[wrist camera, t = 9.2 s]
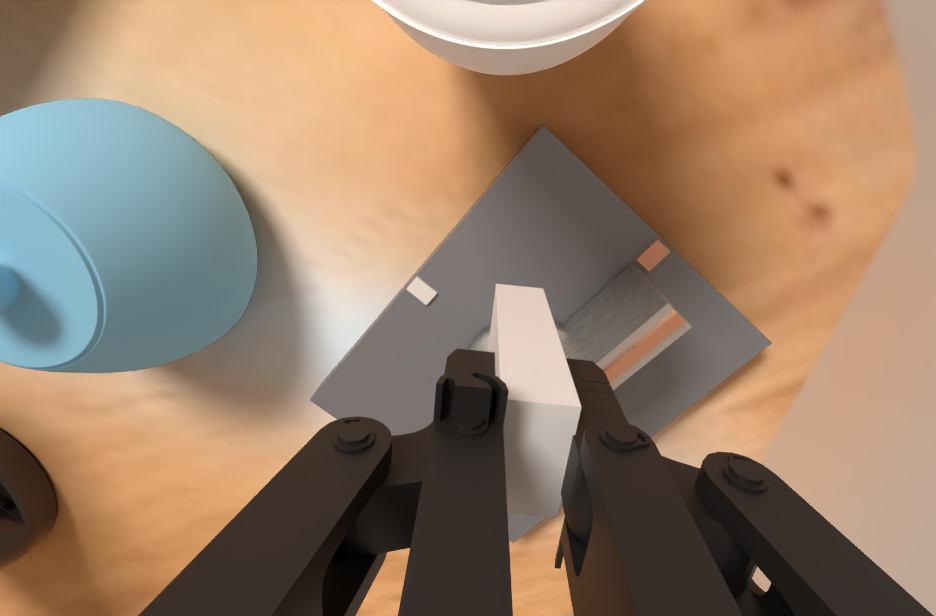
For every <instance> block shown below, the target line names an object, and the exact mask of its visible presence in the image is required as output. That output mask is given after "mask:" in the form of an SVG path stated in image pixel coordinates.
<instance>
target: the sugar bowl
mask: <svg viewBox="0 0 936 616" xmlns="http://www.w3.org/2000/svg"><path fill="white" fill-rule="evenodd" d="M257 266H258V259H257V245H256V240H255V234H254V230H253V226H252V223H251V220H250V217H249V214H248V211H247V209H246V207H245V205H244V202H243V200H242V198H241V196H240V194H239V192H238V191H237V189H236V187H235V185H234V184H233V182H232V180H231V179H230V177H229V176H228V175H227V173H226V172H225V171H224V169H223V168H222V167H221V165H220V164H219V163H218V162H217V161H216V160H215V158H214V157H213V156H212V155H211V154H210V153H209V152H208V151H207V150H206V149H205V148H204V147H203V146H202V145H201V144H199V143H198V142H197V141H196V140H195V139H194V138H193V137H191V136H190V135H189V134H187V133H186V132H184V131H183V130H182V129H180V128H179V127H177V126H176V125H174V124H172V123H170V122H169V121H167V120H165V119H163V118H161V117H160V116H158V115H156V114H154V113H152V112H149V111H147V110H145V109H142V108H140V107H137V106H134V105H130V104H127V103H123V102H120V101H114V100H106V99H64V100H58V101H53V102H47V103H42V104H36V105H32V106H29V107H26V108H22V109H19V110H16V111H13V112H11V113H8V114H5V115H2V116H0V361H1V362H3V363H6V364H9V365H13V366H17V367H21V368H27V369H34V370H42V371H50V372H72V373H112V372H125V371H135V370H140V369H146V368H151V367H155V366H159V365H164V364H167V363H170V362H173V361H176V360H179V359H181V358H184V357H186V356H189V355H191V354H193V353H196V352H198V351H200V350H202V349H204V348H205V347H207V346H209V345H211V344H212V343H214V342H215V341H217V340H218V339H220V338H221V337H222V336H224V335H225V334H226V333H227V332H228V331H230V330H231V329H232V328H233V327H234V325H235V324H236V323H237V322H238V321H239V320H240V318H241V316H242V315H243V313H244V312H245V310H246V308H247V306H248V304H249V301H250V299H251V296H252V293H253V290H254V286H255V282H256V277H257Z"/></svg>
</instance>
